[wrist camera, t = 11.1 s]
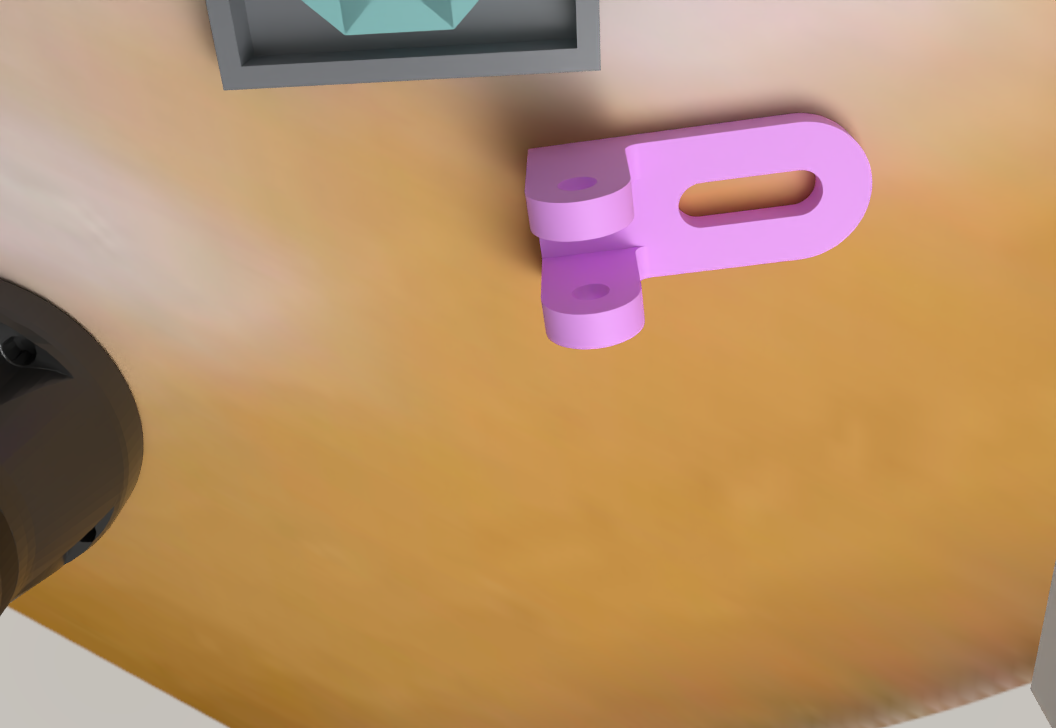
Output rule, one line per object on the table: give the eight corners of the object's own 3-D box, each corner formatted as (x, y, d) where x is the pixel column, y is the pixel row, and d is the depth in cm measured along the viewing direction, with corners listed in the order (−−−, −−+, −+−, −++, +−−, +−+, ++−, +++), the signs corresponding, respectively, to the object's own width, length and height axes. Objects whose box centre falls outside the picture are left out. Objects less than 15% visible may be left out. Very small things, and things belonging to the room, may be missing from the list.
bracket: (547, 276, 42) (545, 354, 36) (528, 147, 39) (523, 208, 33) (861, 237, 41) (914, 311, 35) (863, 102, 38) (921, 157, 32)
